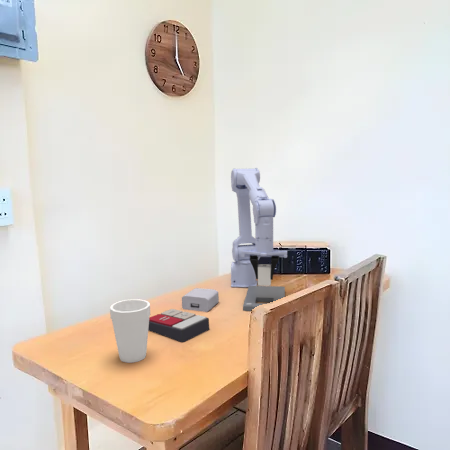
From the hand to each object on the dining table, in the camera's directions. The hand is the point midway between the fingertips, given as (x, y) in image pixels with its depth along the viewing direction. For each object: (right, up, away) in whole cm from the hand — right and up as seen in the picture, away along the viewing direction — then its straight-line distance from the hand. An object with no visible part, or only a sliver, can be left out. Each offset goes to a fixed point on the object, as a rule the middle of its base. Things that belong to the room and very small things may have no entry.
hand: (264, 278), depth 135 cm
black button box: (-26, -13, -17) cm, 34 cm away
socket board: (+1, -8, +6) cm, 10 cm away
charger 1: (-20, -9, +4) cm, 22 cm away
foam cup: (-35, -15, -33) cm, 51 cm away
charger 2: (0, -2, 0) cm, 2 cm away
